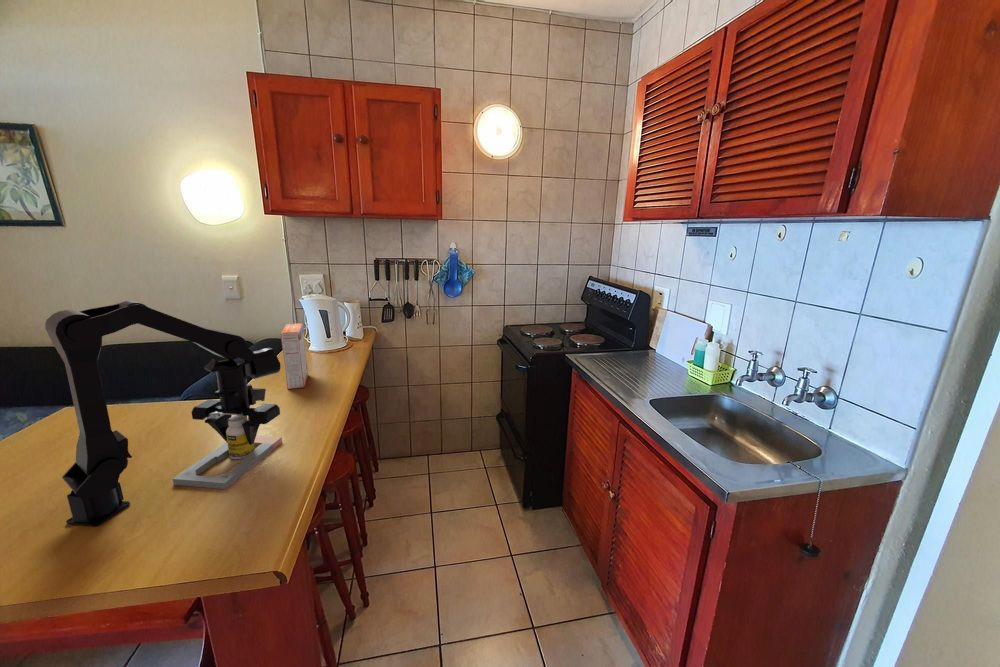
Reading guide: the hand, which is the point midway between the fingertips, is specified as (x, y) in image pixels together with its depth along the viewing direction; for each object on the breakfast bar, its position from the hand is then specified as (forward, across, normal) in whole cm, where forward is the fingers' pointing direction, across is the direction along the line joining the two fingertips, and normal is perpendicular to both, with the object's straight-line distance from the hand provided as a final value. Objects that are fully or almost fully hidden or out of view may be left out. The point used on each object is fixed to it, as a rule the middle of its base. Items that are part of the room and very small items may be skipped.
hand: (240, 443), depth 98 cm
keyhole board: (+3, 0, +3) cm, 4 cm away
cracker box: (+3, +14, -48) cm, 50 cm away
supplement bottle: (+3, 0, 0) cm, 3 cm away
